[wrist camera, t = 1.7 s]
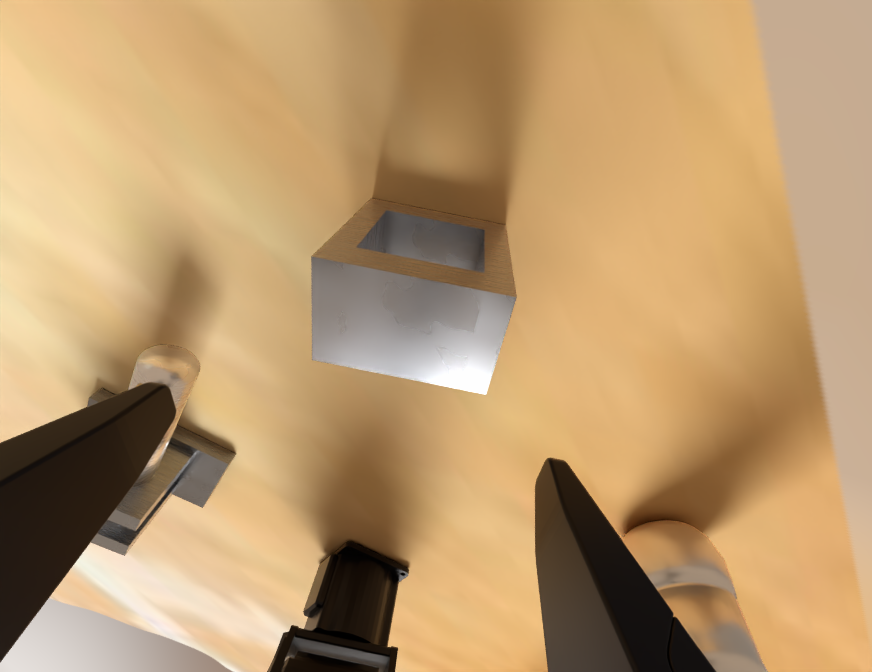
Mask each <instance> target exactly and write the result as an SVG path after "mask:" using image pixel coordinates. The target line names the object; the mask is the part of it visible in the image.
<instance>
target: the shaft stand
mask: <svg viewBox="0 0 872 672" xmlns="http://www.w3.org/2000/svg"><path fill="white" fill-rule="evenodd" d="M199 372H200V363H199V361H198V359H197V358H196V357H195V355H193V354H192V353H191V352H190V351H188V350H186V349H184V348H182V347H178V346H174V345H156V346H152V347H149V348H147V349H145V350H144V351H143V352H142V353H141V354H140V355H139V356H138V358H137V361H136V365H135V368H134V371H133V375H132V378H131V381H130V385H129V388H128V390H130V389H132V388H134V387H137V386H139V385H142V384H144V383H147V382H155V383H160V384H165V385H167V386H168V387H169V388H170V390H171V393H172V396H173V400H174V403H175V407H176V416H175V419H174V421H173V423H172V424H171V426H170V427H169V429H168V431H167V432H166V434H165V436H164V437H163V439H162V441H161V442H160V444H159V446H158V447H157V449H156V451H155V452H154V454H153V456H152V457H151V459H150V460H149V462H148V464H147V465H146V467H145V469H144V470H143V472H142V473H141V475H140V476H139V478H138V479H137V481H136V482H135V483H134V485H133V486H132V488H131V489H130V490H129V492H128V493H127V494H126V496H125V497H124V498H123V500H122V501H121V502H120V504H119V505H118V506H117V508H116V509H115V510H114V512H113V513H112V514H111V516H110V517H109V518H108V520H107V521H106V522H105V524H104V525H103V526H102V528H101V529H100V530H99V532H98V533H97V534H96V536H95V537H94V538H93V540H92V541H91V543H94V544H96V545H99V546H101V547H104V548H106V549H109V550H111V551H114V552H116V553H119V554H121V555H124V556H125V555H126V553H127V552H128V551H129V549H130V548H131V547H132V546H133V544H134V543H135V542H136V540H137V539H138V538H139V536H140V535H141V534H142V533H143V531H144V530H145V529H146V527H147V526H148V525H149V524H150V522H151V521H152V520H153V518H154V517H155V516H156V514H157V513H158V512H159V511H160V509H161V508H162V507H163V505H164V504H165V503H166V502H167V500H168V499H169V498H170V496H171V495H172V494H173V495H175V496H178V497H180V498H182V499H184V500H187V501H189V502H191V503H193V504H196V505H198V506H200V507H202V508H203V507H204V505H205V504H206V502H207V501H208V499H209V498H210V496H211V494H212V493H213V491H214V489H215V488H216V486H217V485H218V483H219V481H220V480H221V478H222V476H223V475H224V473H225V471H226V470H227V468H228V466H229V465H230V463H231V461H232V460H233V458H234V456H235V455H236V454H235V453H233V452H231V451H229V450H227V449H225V448H223V447H221V446H219V445H217V444H215V443H213V442H211V441H209V440H207V439H205V438H203V437H200V436H198V435H196V434H194V433H192V432H190V431H188V430H186V429H184V428H182V427H180V426H178V425H177V423H178V421H179V418H180V416H181V414H182V411H183V409H184V407H185V404H186V402H187V400H188V398H189V395H190V393H191V391H192V388H193V386H194V384H195V381H196V379H197V377H198V374H199ZM113 396H115V394H112V393H110V392H108V391H106V390H104V389H102V388H101V389H100V390H98V391H97V392H96V393H95V394H93V395H92V396H91V397H89V401H88V405H87V407H88V406H91V405H93V404H96V403H98V402H101V401H103V400H105V399H108V398H110V397H113Z"/></svg>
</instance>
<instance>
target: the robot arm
mask: <svg viewBox="0 0 872 672" xmlns="http://www.w3.org/2000/svg"><path fill="white" fill-rule="evenodd" d="M175 416H176V407H175V403H174V400H173V396H172V393H171V390H170V388H169V387H168V386H167V385H165V384H160V383H155V382H147V383H144V384H142V385H139V386H137V387H134V388H132V389H130V390H127V391H125V392H122V393H120V394H118V395H115V396H113V397H110V398H108V399H105V400H103V401H101V402H98V403H96V404H93V405H91V406H88V407H86V408H84V409H81V410H79V411H76V412H74V413H72V414H69V415H67V416H64V417H62V418H59V419H57V420H55V421H52V422H50V423H47V424H45V425H43V426H40V427H38V428H35V429H33V430H30V431H28V432H26V433H23V434H21V435H18V436H16V437H13V438H11V439H9V440H6V441H4V442H1V443H0V662H1V661H2V660H3V658H4V657H5V656H6V654H7V653H8V652H9V650H10V649H11V648H12V646H13V645H14V644H15V642H16V641H17V640H18V638H19V637H20V636H21V634H22V633H23V632H24V630H25V629H26V628H27V626H28V625H29V624H30V622H31V621H32V620H33V618H34V617H35V616H36V614H37V613H38V612H39V610H40V609H41V607H42V606H43V605H44V604H45V602H46V601H47V600H48V598H49V597H50V596H51V594H52V593H53V592H54V590H55V589H56V588H57V586H58V585H59V584H60V582H61V581H62V580H63V578H64V577H65V576H66V574H67V573H68V572H69V570H70V569H71V568H72V566H73V565H74V564H75V562H76V561H77V560H78V558H79V557H80V556H81V554H82V553H83V552H84V550H85V549H86V548H87V546H88V545H89V544H90V542H91V541H92V540H93V538H94V537H95V536H96V534H97V533H98V532H99V530H100V529H101V528H102V526H103V525H104V524H105V522H106V521H107V520H108V518H109V517H110V516H111V514H112V513H113V512H114V510H115V509H116V508H117V506H118V505H119V504H120V502H121V501H122V500H123V498H124V497H125V496H126V494H127V493H128V492H129V490H130V489H131V488H132V486H133V485H134V483H135V482H136V481H137V479H138V478H139V476H140V475H141V473H142V472H143V470H144V469H145V467H146V465H147V464H148V462H149V460H150V459H151V457H152V456H153V454H154V452H155V451H156V449H157V447H158V446H159V444H160V442H161V441H162V439H163V437H164V436H165V434H166V432H167V431H168V429H169V427H170V426H171V424H172V423H173V421H174V419H175ZM535 555H536V566H537V575H538V584H539V593H540V602H541V611H542V620H543V629H544V638H545V647H546V656H547V665H548V672H716V670H715V669H714V668H713V666H712V665H711V664H710V662H709V661H708V660H707V658H706V657H705V655H704V654H703V653H702V651H701V650H700V649H699V647H698V646H697V645H696V643H695V642H694V641H693V639H692V638H691V636H690V635H689V634H688V632H687V631H686V629H685V628H684V627H683V625H682V624H681V622H680V621H679V620H678V618H677V617H675V616H674V614H673V611H672V610H671V608H670V607H669V606H668V604H667V603H666V601H665V600H664V599H663V597H662V596H661V594H660V593H659V592H658V590H657V589H656V587H655V586H654V585H653V583H652V582H651V580H650V579H649V578H648V576H647V575H646V573H645V572H644V570H643V569H642V568H641V566H640V565H639V563H638V562H637V561H636V559H635V558H634V556H633V555H632V554H631V552H630V551H629V549H628V548H627V547H626V545H625V544H624V542H623V541H622V540H621V538H620V537H619V535H618V534H617V532H616V531H615V530H614V528H613V527H612V525H611V524H610V523H609V521H608V520H607V518H606V517H605V516H604V514H603V513H602V511H601V510H600V509H599V507H598V506H597V504H596V503H595V502H594V500H593V499H592V497H591V496H590V494H589V493H588V492H587V490H586V489H585V487H584V486H583V485H582V483H581V482H580V480H579V479H578V478H577V476H576V475H575V473H574V472H573V471H572V469H571V468H570V466H569V465H568V464H567V463H566V462H565V461H564V460H560V459H555V458H547V459H546V461H545V462H544V465H543V467H542V469H541V471H540V473H539V475H538V477H537V480H536V484H535ZM408 574H409V569H408V568H407V567H404V566H402V565H400V564H398V563H396V562H394V561H392V560H389V559H387V558H385V557H383V556H381V555H379V554H377V553H374V552H372V551H370V550H368V549H366V548H364V547H362V546H360V545H357V544H355V543H353V542H346V543H345V544H344V545H343V546H342V547H340V548H339V549H338V550H337V551H336V552H335V553H333V554H331V555H330V556H329V557H328V558H327V559H325V560H324V561H323V562H322V563H321V564H320V565H319V568H318V571H317V574H316V577H315V579H314V582H313V585H312V588H311V591H310V594H309V597H308V599H307V602H306V605H305V608H304V611H303V612H304V615H305V616H307V617H308V619H307V622H306V625H305V628H304V629H301V628H299V627H298V626H294V625H292V626H291V628H290V630H289V632H285V633H283V635H282V638H281V641H280V644H279V646H278V649H277V651H276V654H275V656H274V659H273V661H272V663H271V665H270V667H269V669H268V671H267V672H395V667H396V659H397V651H398V648H397V647H393V646H391V647H387V646H388V640H389V634H390V629H391V623H392V617H393V612H394V606H395V600H396V594H397V589H398V583H399V582H400V581H401V580H403V579H404V578H406V577H407V576H408ZM673 616H674V617H673Z"/></svg>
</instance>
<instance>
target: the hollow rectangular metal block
mask: <svg viewBox="0 0 872 672" xmlns="http://www.w3.org/2000/svg"><path fill="white" fill-rule="evenodd" d="M311 262H312V360H315V361H320V362H325V363H330V364H335V365H340V366H345V367H350V368H355V369H360V370H365V371H370V372H375V373H380V374H385V375H390V376H395V377H400V378H405V379H410V380H415V381H420V382H425V383H430V384H435V385H440V386H445V387H450V388H455V389H460V390H465V391H470V392H475V393H480V394H485V395H486V393H487V390H488V387H489V384H490V380H491V377H492V374H493V371H494V368H495V364H496V361H497V358H498V355H499V352H500V349H501V345H502V342H503V339H504V336H505V333H506V329H507V326H508V323H509V320H510V317H511V313H512V310H513V307H514V304H515V301H516V298H517V297H516V290H515V284H514V277H513V270H512V264H511V257H510V250H509V244H508V237H507V231H506V225H504V224H499V223H494V222H489V221H484V220H479V219H474V218H469V217H464V216H459V215H454V214H449V213H444V212H438V211H433V210H428V209H423V208H418V207H413V206H408V205H403V204H398V203H393V202H388V201H383V200H378V199H373V198H372V199H370V200H369V201H368V202H367V203H366V204H365V205H364V206H363V207H362V208H361V209H360V210H359V211H358V212H357V213H356V214H355V215H354V216H353V217H352V218H351V219H350V220H349V221H348V222H347V223H346V224H345V225H344V226H343V227H341V228H340V229H339V230H338V231H337V232H336V233H335V234H334V235H333V236H332V237H331V238H330V239H329V240H328V241H327V242H326V243H325V244H324V245H323V246H322V247H321V248H320V249H319V250H318V251H317V252H316V253H315V254H313V255H312V256H311Z"/></svg>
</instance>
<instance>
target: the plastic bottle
mask: <svg viewBox="0 0 872 672" xmlns="http://www.w3.org/2000/svg"><path fill="white" fill-rule="evenodd" d="M622 541H623V542H624V544H625V545H626V547H627V548H628V549H629V551H630V552H631V554H632V555H633V556H634V558H635V559H636V561H637V562H638V563H639V565H640V566H641V568H642V569H643V570H644V572H645V573H646V575H647V576H648V578H649V579H650V580H651V582H652V583H653V585H654V586H655V587H656V589H657V590H658V592H659V593H660V594H661V596H662V597H663V599H664V600H665V601H666V603H667V604H668V606H669V607H670V608H671V610H672V611H673V614H674V616H675V617H677V618H678V620H679V621H680V622H681V624H682V625H683V627H684V628H685V629H686V631H687V632H688V634H689V635H690V636H691V638H692V639H693V641H694V642H695V643H696V645H697V646H698V647H699V649H700V650H701V651H702V653H703V654H704V655H705V657H706V658H707V660H708V661H709V662H710V664H711V665H712V666H713V668H714V669H715V670H716V672H768V671H767V669H766V667H765V666H764V664H763V661H762V659H761V657H760V654H759V652H758V649H757V647H756V645H755V642H754V640H753V637H752V635H751V633H750V630H749V628H748V625H747V623H746V620H745V618H744V616H743V613H742V611H741V608H740V606H739V604H738V601H737V597H736V593H735V589H734V585H733V582H732V579H731V576H730V573H729V571H728V568H727V565H726V563H725V560H724V558H723V557H722V556H721V554H720V553H719V552H718V550H717V549H716V547H715V546H714V545H713V543H712V542H711V540H710V539H709V538H708V536H706V535H705V534H704V533H702V532H701V531H699V530H698V529H696V528H695V527H693V526H691V525H689V524H687V523H684V522H680V521H673V520H661V521H653V522H648V523H645V524H642V525H640V526H637V527H635V528H634V529H632V530H630V531H629V532H628V533H627V534H626V535H625V537H624V538H623V540H622ZM674 616H673V617H674Z"/></svg>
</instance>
